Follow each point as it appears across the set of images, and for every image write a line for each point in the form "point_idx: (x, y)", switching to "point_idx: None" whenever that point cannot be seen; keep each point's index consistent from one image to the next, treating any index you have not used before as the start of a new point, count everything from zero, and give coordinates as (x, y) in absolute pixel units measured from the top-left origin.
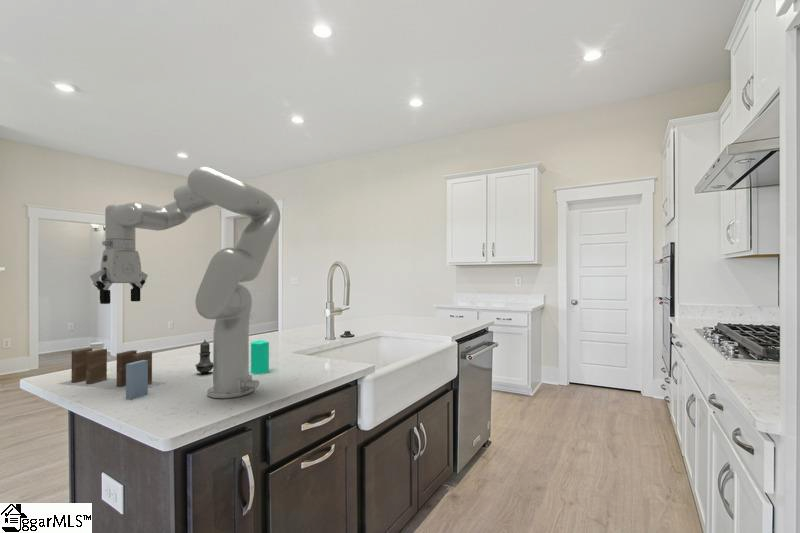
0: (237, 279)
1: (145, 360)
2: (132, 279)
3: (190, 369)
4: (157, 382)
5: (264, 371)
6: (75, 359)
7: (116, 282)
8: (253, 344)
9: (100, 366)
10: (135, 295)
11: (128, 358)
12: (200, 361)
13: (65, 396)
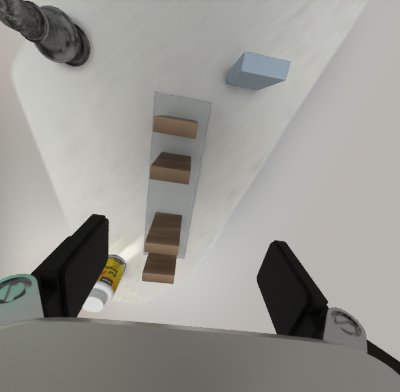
0: None
1: (246, 57)
2: (131, 363)
3: (42, 116)
4: (156, 109)
5: None
6: (175, 265)
7: (341, 344)
8: None
9: (163, 226)
10: (92, 255)
11: (173, 165)
12: (61, 38)
13: (234, 204)
